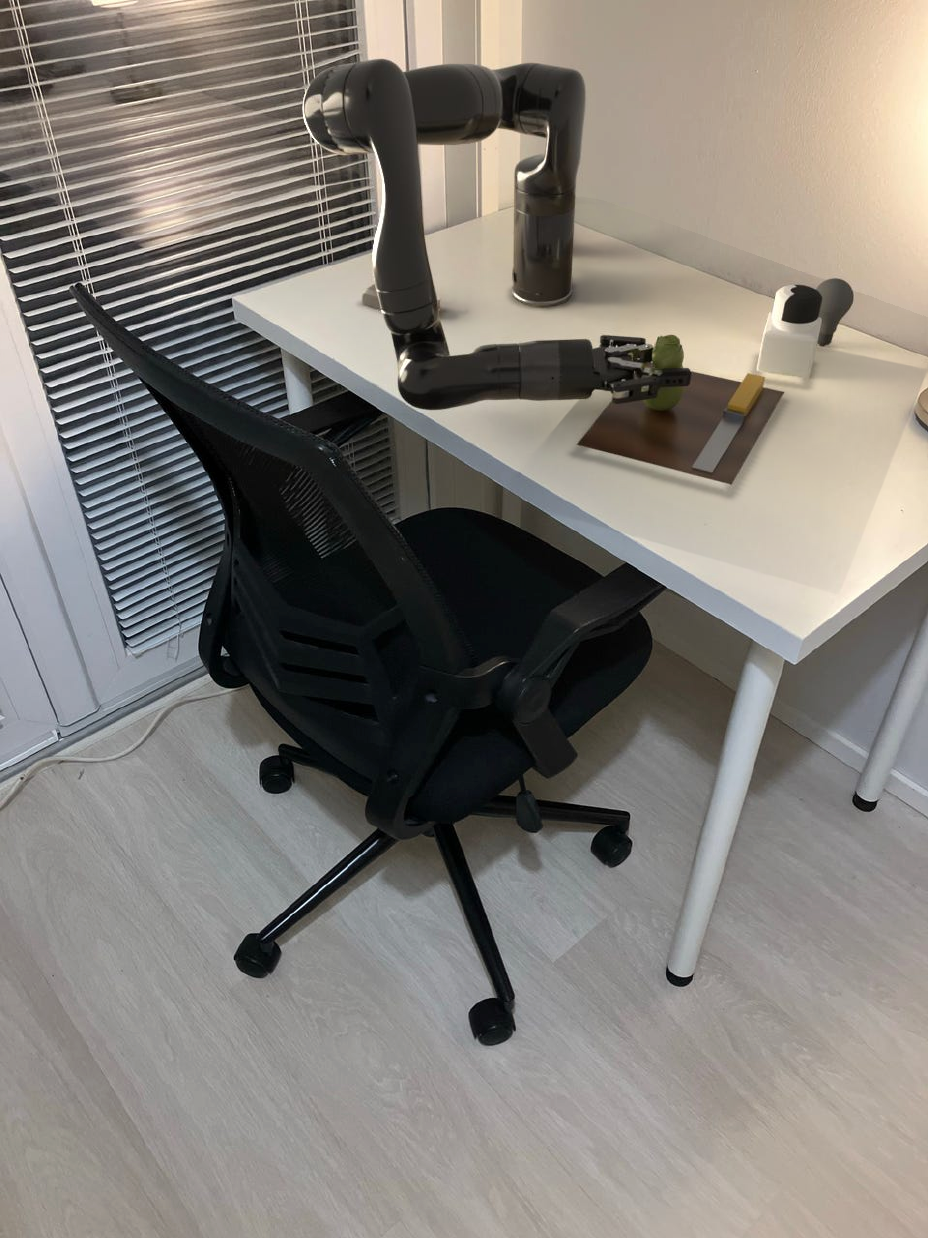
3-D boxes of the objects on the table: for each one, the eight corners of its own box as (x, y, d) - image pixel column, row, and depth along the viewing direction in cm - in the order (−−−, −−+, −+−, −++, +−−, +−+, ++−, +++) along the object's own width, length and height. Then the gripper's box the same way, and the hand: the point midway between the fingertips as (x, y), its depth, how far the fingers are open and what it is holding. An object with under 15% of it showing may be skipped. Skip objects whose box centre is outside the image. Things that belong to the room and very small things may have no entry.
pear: (676, 421, 136) (686, 350, 129) (635, 414, 137) (643, 344, 131) (683, 400, 140) (693, 330, 133) (644, 394, 141) (652, 324, 135)
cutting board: (642, 369, 149) (643, 360, 148) (782, 401, 142) (784, 391, 141) (576, 454, 133) (576, 444, 132) (729, 494, 126) (731, 484, 125)
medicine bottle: (812, 363, 149) (830, 282, 141) (807, 387, 144) (825, 305, 136) (761, 356, 151) (776, 276, 143) (754, 380, 146) (769, 298, 138)
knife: (744, 384, 143) (746, 372, 141) (764, 389, 142) (766, 377, 140) (690, 468, 128) (692, 456, 127) (712, 474, 127) (714, 461, 126)
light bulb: (801, 335, 156) (815, 270, 149) (840, 338, 155) (856, 272, 148) (803, 352, 152) (817, 287, 145) (842, 356, 151) (859, 289, 144)
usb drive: (381, 291, 170) (379, 275, 168) (443, 307, 165) (443, 291, 163) (362, 304, 166) (360, 287, 164) (425, 321, 161) (425, 304, 160)
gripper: (561, 371, 126) (701, 366, 127) (549, 317, 137) (678, 312, 137) (558, 425, 131) (693, 420, 132) (547, 369, 142) (672, 364, 142)
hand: (685, 365), depth 135 cm, fingers closed on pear, 5 cm apart
